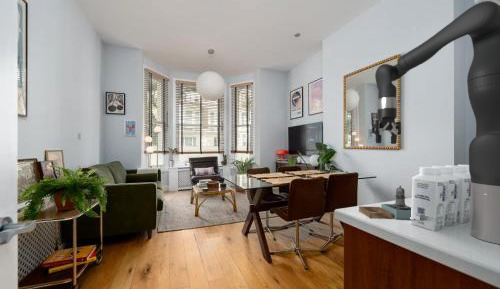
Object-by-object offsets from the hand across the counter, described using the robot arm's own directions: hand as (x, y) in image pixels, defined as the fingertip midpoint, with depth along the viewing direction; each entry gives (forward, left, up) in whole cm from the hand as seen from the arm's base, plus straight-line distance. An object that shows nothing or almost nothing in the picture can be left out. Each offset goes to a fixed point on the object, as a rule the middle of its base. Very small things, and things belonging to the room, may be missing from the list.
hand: (386, 143), depth 95 cm
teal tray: (0, +10, -30) cm, 32 cm away
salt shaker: (0, +10, -30) cm, 31 cm away
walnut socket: (+10, +9, -30) cm, 33 cm away
